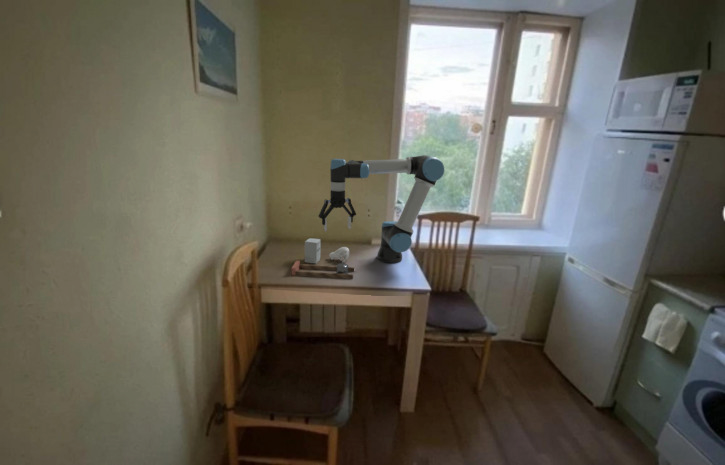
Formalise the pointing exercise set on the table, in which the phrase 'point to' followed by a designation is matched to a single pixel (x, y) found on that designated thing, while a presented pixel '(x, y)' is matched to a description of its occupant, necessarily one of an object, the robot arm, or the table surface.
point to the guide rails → (321, 274)
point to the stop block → (295, 267)
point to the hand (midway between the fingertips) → (337, 229)
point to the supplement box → (312, 250)
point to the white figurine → (340, 254)
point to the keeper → (342, 268)
